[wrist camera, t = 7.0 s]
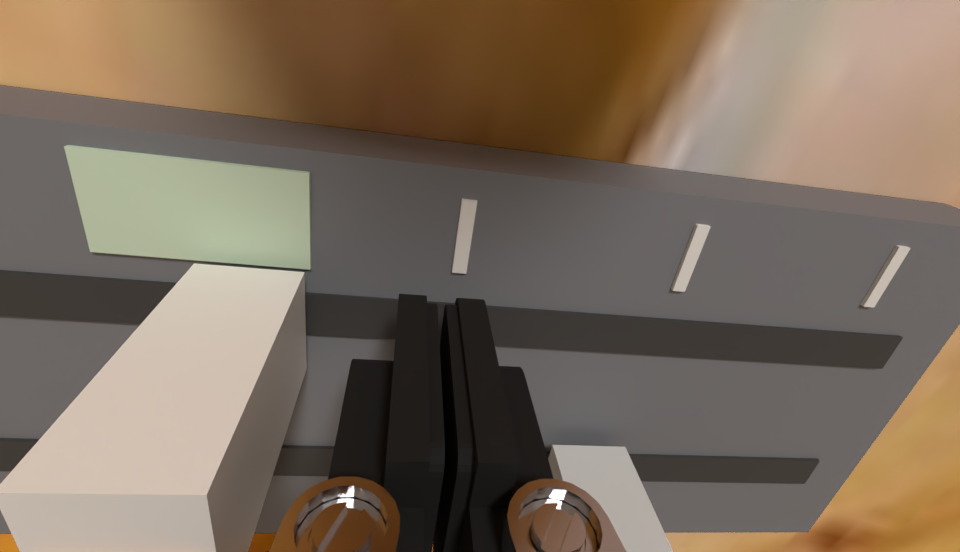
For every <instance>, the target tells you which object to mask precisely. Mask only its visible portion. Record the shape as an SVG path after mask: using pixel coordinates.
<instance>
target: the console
mask: <svg viewBox="0 0 960 552" xmlns="http://www.w3.org/2000/svg"><path fill="white" fill-rule="evenodd" d="M194 263H195V264H208V265H221V266H233V267H246V268H258V269H271V270H284V271H296V272H305V316H306V363H307V369H306V372H305V375H304V378H303V382H302V385H301V388H300V391H299V394H298V397H297V400H296V404H295V407H294V410H293V413H292V416H291V419H290V422H289V426H288V429H287V432H286V435H285V438H284V441H283V445H282V448H281V451H280V454H279V457H278V460H277V463H276V467H275V470H274V473H273V476H272V479H271V482H270V485H269V489H268V492H267V495H266V498H265V501H264V504H263V507H262V511H261V514H260V517H259V520H258V523H257V526H256V529H255V533H277V532H278V529H279V527H280V525H281V523H282V520H283V518H284V516H285V514H286V513H287V511H288V510H289V508H290V507H291V505H292V503H293V502H294V501H295V500H296V499H297V498H298V497H299V496H300V495H301V494H303V493H304V492H305V491H306V490H307V489H309V488H310V487H312V486H314V485H316V484H318V483H320V482H322V481H324V480H328V477H329V472H330V466H331V461H332V456H333V451H334V446H335V441H336V436H337V431H338V426H339V420H340V415H341V410H342V405H343V400H344V395H345V390H346V385H347V380H348V374H349V369H350V365H351V361H352V359H368V360H389V361H394V350H395V337H396V324H397V311H398V299H399V294H412V295H426V296H427V303H436V304H437V307H438V325H439V344H440V338H441V330H442V323H443V315H444V308H445V305H446V304H451V305H455V301H456V298H469V299H483V300H485V303H486V308H487V312H488V317H489V322H490V326H491V331H492V336H493V340H494V345H495V349H496V354H497V359H498V363H499V366H512V367H521V368H522V370H523V372H524V375H525V378H526V382H527V385H528V389H529V392H530V396H531V400H532V403H533V407H534V410H535V414H536V417H537V421H538V425H539V428H540V432H541V435H542V439H543V442H544V446H545V450H546V453H547V457H548V458H549V455H550V451H551V448H552V445H581V446H618V447H626V449H627V452H628V454H629V456H630V458H631V460H632V462H633V465H634V467H635V469H636V471H637V473H638V476H639V478H640V480H641V482H642V484H643V487H644V489H645V491H646V493H647V495H648V497H649V500H650V502H651V504H652V506H653V508H654V511H655V513H656V515H657V517H658V519H659V522H660V524H661V526H662V528H663V530H664V532H808V531H809V530H810V529H811V527H812V526H813V525H814V523H815V522H816V520H817V519H818V518H819V516H820V515H821V514H822V512H823V511H824V509H825V508H826V507H827V505H828V504H829V503H830V501H831V500H832V498H833V497H834V496H835V494H836V493H837V492H838V490H839V489H840V488H841V486H842V485H843V483H844V482H845V481H846V479H847V478H848V477H849V475H850V474H851V472H852V471H853V470H854V468H855V467H856V466H857V464H858V463H859V461H860V460H861V459H862V457H863V456H864V455H865V453H866V452H867V450H868V449H869V448H870V446H871V445H872V444H873V442H874V441H875V439H876V438H877V437H878V435H879V434H880V433H881V431H882V430H883V428H884V427H885V426H886V424H887V423H888V422H889V420H890V419H891V417H892V416H893V415H894V413H895V412H896V411H897V409H898V408H899V407H900V405H901V404H902V402H903V401H904V400H905V398H906V397H907V396H908V394H909V393H910V391H911V390H912V389H913V387H914V386H915V385H916V383H917V382H918V380H919V379H920V378H921V376H922V375H923V374H924V372H925V371H926V369H927V368H928V367H929V365H930V364H931V363H932V361H933V360H934V358H935V357H936V356H937V354H938V353H939V352H940V350H941V349H942V347H943V346H944V345H945V343H946V342H947V341H948V339H949V338H950V336H951V335H952V334H953V332H954V331H955V330H956V328H957V327H958V325H959V324H960V209H958V208H955V207H952V206H950V205H947V204H943V203H935V202H927V201H919V200H911V199H903V198H895V197H887V196H879V195H871V194H863V193H855V192H847V191H840V190H832V189H824V188H816V187H808V186H800V185H792V184H784V183H776V182H768V181H760V180H752V179H744V178H736V177H728V176H720V175H712V174H704V173H696V172H688V171H680V170H672V169H665V168H657V167H649V166H641V165H633V164H625V163H617V162H609V161H601V160H593V159H585V158H577V157H569V156H561V155H553V154H545V153H537V152H529V151H521V150H513V149H505V148H497V147H489V146H482V145H474V144H466V143H458V142H450V141H442V140H434V139H426V138H418V137H410V136H402V135H394V134H386V133H378V132H370V131H362V130H354V129H346V128H338V127H330V126H322V125H314V124H307V123H299V122H291V121H283V120H275V119H267V118H259V117H251V116H243V115H235V114H227V113H219V112H211V111H203V110H195V109H187V108H179V107H171V106H163V105H155V104H147V103H139V102H132V101H124V100H116V99H108V98H100V97H92V96H84V95H76V94H68V93H60V92H52V91H44V90H36V89H28V88H20V87H12V86H4V85H0V484H1V483H2V481H3V480H4V479H5V478H6V477H7V476H8V475H9V473H10V472H11V471H12V470H13V469H14V468H15V467H16V466H17V464H18V463H19V462H20V461H21V460H22V459H23V458H24V456H25V455H26V454H27V453H28V452H29V451H30V450H31V448H32V447H33V446H34V445H35V444H36V443H37V442H38V440H39V439H40V438H41V437H42V436H43V435H44V434H45V433H46V431H47V430H48V429H49V428H50V427H51V426H52V425H53V423H54V422H55V421H56V420H57V419H58V418H59V417H60V415H61V414H62V413H63V412H64V411H65V410H66V409H67V408H68V406H69V405H70V404H71V403H72V402H73V401H74V400H75V398H76V397H77V396H78V395H79V394H80V393H81V392H82V390H83V389H84V388H85V387H86V386H87V385H88V384H89V382H90V381H91V380H92V379H93V378H94V377H95V376H96V375H97V373H98V372H99V371H100V370H101V369H102V368H103V367H104V365H105V364H106V363H107V362H108V361H109V360H110V359H111V357H112V356H113V355H114V354H115V353H116V352H117V351H118V350H119V348H120V347H121V346H122V345H123V344H124V343H125V342H126V340H127V339H128V338H129V337H130V336H131V335H132V334H133V332H134V331H135V330H136V329H137V328H138V327H139V326H140V324H141V323H142V322H143V321H144V320H145V319H146V318H147V317H148V315H149V314H150V313H151V312H152V311H153V310H154V309H155V307H156V306H157V305H158V304H159V303H160V302H161V301H162V299H163V298H164V297H165V296H166V295H167V294H168V293H169V292H170V290H171V289H172V288H173V287H174V286H175V285H176V284H177V282H178V281H179V280H180V279H181V278H182V277H183V276H184V274H185V273H186V272H187V271H188V270H189V269H190V268H191V267H192V265H193V264H194ZM0 534H11V531H10V529H9V527H8V525H7V523H6V521H5V519H4V517H3V515H2V512H1V510H0Z"/></svg>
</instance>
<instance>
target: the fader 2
mask: <svg viewBox="0 0 960 552" xmlns="http://www.w3.org/2000/svg"><path fill="white" fill-rule="evenodd" d="M548 460H549V464H550V468H551V471H552V475H553V478H554V479H558V480H562V481H565V482H569V483H572V484H574V485H576V486H577V487H579V488H581V489H583V490H585V491H586V492H587V493H588V494H590V495H591V496H592V497H593V498H594V499H595V500H596V501H597V502H598V503H599V504H600V505H601V507H602V508H603V510H604V511H605V513H606V514H607V516H608V517H609V519H610V521H611V523H612V525H613V527H614V529H615V531H616V533H617V535H618V537H619V538H620V540H621V542H622V544H623V546H624V548H625V550H626V552H673V550H672V548H671V546H670V543H669V541H668V539H667V537H666V535H665V532H664V530H663V528H662V526H661V524H660V522H659V519H658V517H657V515H656V513H655V511H654V508H653V506H652V504H651V502H650V500H649V497H648V495H647V493H646V491H645V489H644V487H643V484H642V482H641V480H640V478H639V476H638V473H637V471H636V469H635V467H634V465H633V462H632V460H631V458H630V456H629V454H628V452H627V449H626V447H618V446H581V445H552V448H551V451H550V455H549V458H548Z"/></svg>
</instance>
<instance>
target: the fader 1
mask: <svg viewBox="0 0 960 552" xmlns="http://www.w3.org/2000/svg"><path fill="white" fill-rule="evenodd" d="M306 369H307V363H306V316H305V272H296V271H284V270H271V269H258V268H246V267H233V266H221V265H208V264H195V263H194V264H193V265H192V267H191V268H190V269H189V270H188V271H187V272H186V273H185V274H184V276H183V277H182V278H181V279H180V280H179V281H178V282H177V284H176V285H175V286H174V287H173V288H172V289H171V290H170V292H169V293H168V294H167V295H166V296H165V297H164V298H163V299H162V301H161V302H160V303H159V304H158V305H157V306H156V307H155V309H154V310H153V311H152V312H151V313H150V314H149V315H148V317H147V318H146V319H145V320H144V321H143V322H142V323H141V324H140V326H139V327H138V328H137V329H136V330H135V331H134V332H133V334H132V335H131V336H130V337H129V338H128V339H127V340H126V342H125V343H124V344H123V345H122V346H121V347H120V348H119V350H118V351H117V352H116V353H115V354H114V355H113V356H112V357H111V359H110V360H109V361H108V362H107V363H106V364H105V365H104V367H103V368H102V369H101V370H100V371H99V372H98V373H97V375H96V376H95V377H94V378H93V379H92V380H91V381H90V382H89V384H88V385H87V386H86V387H85V388H84V389H83V390H82V392H81V393H80V394H79V395H78V396H77V397H76V398H75V400H74V401H73V402H72V403H71V404H70V405H69V406H68V408H67V409H66V410H65V411H64V412H63V413H62V414H61V415H60V417H59V418H58V419H57V420H56V421H55V422H54V423H53V425H52V426H51V427H50V428H49V429H48V430H47V431H46V433H45V434H44V435H43V436H42V437H41V438H40V439H39V440H38V442H37V443H36V444H35V445H34V446H33V447H32V448H31V450H30V451H29V452H28V453H27V454H26V455H25V456H24V458H23V459H22V460H21V461H20V462H19V463H18V464H17V466H16V467H15V468H14V469H13V470H12V471H11V472H10V473H9V475H8V476H7V477H6V478H5V479H4V480H3V481H2V483H1V484H0V510H1V512H2V515H3V517H4V519H5V521H6V523H7V525H8V527H9V529H10V531H11V534H12V536H13V538H14V540H15V542H16V544H17V546H18V548H19V551H20V552H248V551H249V548H250V545H251V542H252V539H253V536H254V533H255V529H256V526H257V523H258V520H259V517H260V514H261V511H262V507H263V504H264V501H265V498H266V495H267V492H268V489H269V485H270V482H271V479H272V476H273V473H274V470H275V467H276V463H277V460H278V457H279V454H280V451H281V448H282V445H283V441H284V438H285V435H286V432H287V429H288V426H289V422H290V419H291V416H292V413H293V410H294V407H295V404H296V400H297V397H298V394H299V391H300V388H301V385H302V382H303V378H304V375H305V372H306Z"/></svg>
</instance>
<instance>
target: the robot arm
mask: <svg viewBox="0 0 960 552" xmlns="http://www.w3.org/2000/svg"><path fill="white" fill-rule="evenodd" d="M432 545H433V552H626V550H625V548H624V546H623V544H622V542H621V540H620V538H619V537H618V535H617V533H616V531H615V529H614V527H613V525H612V523H611V521H610V519H609V517H608V516H607V514H606V513H605V511H604V510H603V508H602V507H601V505H600V504H599V503H598V502H597V501H596V500H595V499H594V498H593V497H592V496H591V495H590V494H588V493H587V492H586V491H585V490H583V489H581V488H579V487H577V486H576V485H574V484H572V483H569V482H565V481H562V480H558V479H554V478H553V475H552V471H551V468H550V464H549V460H548V457H547V453H546V450H545V446H544V442H543V439H542V435H541V432H540V428H539V425H538V421H537V417H536V414H535V410H534V407H533V403H532V400H531V396H530V392H529V389H528V385H527V382H526V378H525V375H524V372H523V370H522V368H521V367H512V366H499V363H498V359H497V354H496V349H495V345H494V340H493V336H492V331H491V326H490V322H489V317H488V312H487V308H486V303H485V300H483V299H469V298H456V301H455V305H451V304H446V305H445V308H444V315H443V323H442V330H441V338H440V344H439V325H438V307H437V304H436V303H427V296H426V295H412V294H399V299H398V311H397V324H396V337H395V350H394V361H389V360H368V359H352V361H351V365H350V369H349V374H348V380H347V385H346V390H345V395H344V400H343V405H342V410H341V415H340V420H339V426H338V431H337V436H336V441H335V446H334V451H333V456H332V461H331V466H330V472H329V477H328V480H324V481H322V482H320V483H318V484H316V485H314V486H312V487H310V488H309V489H307V490H306V491H305V492H304V493H303V494H301V495H300V496H299V497H298V498H297V499H296V500H295V501H294V502H293V503H292V505H291V507H290V508H289V510H288V511H287V513H286V514H285V516H284V518H283V520H282V523H281V525H280V527H279V529H278V532H277V534H276V536H275V539H274V541H273V543H272V545H271V548H270V550H269V551H267V552H431V551H432Z"/></svg>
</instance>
